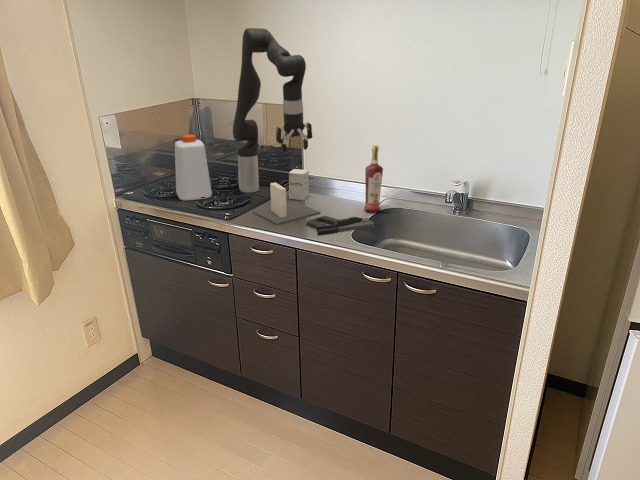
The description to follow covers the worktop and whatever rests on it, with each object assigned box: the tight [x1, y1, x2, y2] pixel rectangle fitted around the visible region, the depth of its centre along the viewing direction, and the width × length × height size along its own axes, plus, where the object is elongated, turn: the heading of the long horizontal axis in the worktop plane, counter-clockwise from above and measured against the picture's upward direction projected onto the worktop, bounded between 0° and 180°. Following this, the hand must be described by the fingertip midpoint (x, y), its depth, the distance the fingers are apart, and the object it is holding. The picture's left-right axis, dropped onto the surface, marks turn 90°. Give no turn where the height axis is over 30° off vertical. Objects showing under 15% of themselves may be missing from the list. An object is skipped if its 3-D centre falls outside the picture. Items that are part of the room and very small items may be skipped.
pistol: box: [306, 215, 376, 236], centre depth 202 cm, size 2×26×15 cm
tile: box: [269, 182, 287, 218], centre depth 209 cm, size 10×3×12 cm, turn 29°
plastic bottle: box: [174, 134, 213, 202], centre depth 230 cm, size 15×15×28 cm
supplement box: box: [288, 168, 310, 201], centre depth 231 cm, size 7×7×13 cm
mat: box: [252, 200, 321, 226], centre depth 214 cm, size 18×22×1 cm
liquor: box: [363, 145, 384, 214], centre depth 212 cm, size 7×7×28 cm
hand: (294, 150), depth 201 cm, fingers open, 8 cm apart
